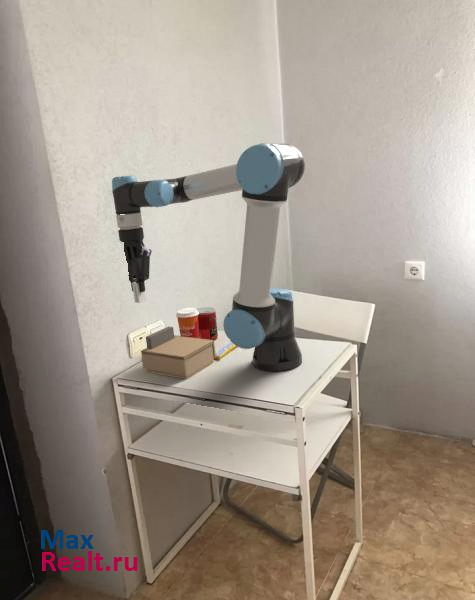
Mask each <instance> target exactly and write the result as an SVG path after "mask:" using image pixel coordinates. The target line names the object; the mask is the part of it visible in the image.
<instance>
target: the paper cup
mask: <svg viewBox="0 0 475 600" xmlns="http://www.w3.org/2000/svg"><path fill="white" fill-rule="evenodd" d="M197 309H198V308H196V307H186V308H181V309H179V310H177V311H176V313H175V316H176V318H177V323H178V329H179V336H184V337H192V338H199V327H198V314H199V312H198V311H197Z"/></svg>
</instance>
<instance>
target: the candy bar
mask: <svg viewBox="0 0 475 600" xmlns="http://www.w3.org/2000/svg"><path fill="white" fill-rule="evenodd" d="M237 348H239V347H238V346H236V345H234V344H233V343H232V342H229V343H228V344H227V345H225V346H223V347H222V348H221V349H219V350H218V351H217V352H215V355H216V357H215V358H214V361H220V360H222V359H223V358H225V357H226V356H227V355H228V354H230V353H232V352H233V351H234V350H235V349H237Z"/></svg>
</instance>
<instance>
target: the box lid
mask: <svg viewBox="0 0 475 600" xmlns="http://www.w3.org/2000/svg"><path fill="white" fill-rule="evenodd" d="M145 342H146V343H145V344H146V348H144V349H142V350H141V351H140V353H141V354H140V355H141V361H142V362H141V363H142V368H143V369H145V370H146V369H151V370H156V371H162V372H168V373H174V374H179V375H187V373H186V365H185V359H187V358H189V357H191V356H192V355H194V354H196V353H198V352H200V351H201V350H203V349H205V348H207V347H208V346H210V345H212V347H213V357H214V358H215V357H216V355H215V353H216V346H215V340H208V339H200V338H192V337H184V336H180V335H175V332H174V326H166V327H164V328H163V329H160V330H157V331H155V332H153V333H151V334H149V335H146V336H145Z"/></svg>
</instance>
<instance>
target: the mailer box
mask: <svg viewBox="0 0 475 600" xmlns="http://www.w3.org/2000/svg"><path fill="white" fill-rule="evenodd" d="M213 364H215V360H214V357H213V347H212V345H210V346H208V347H207V348H205V349H203V350H201V351H200V352H198V353H196V354H194V355H192V356H191V357H189V358H187V359H185V365H186V373H187V375H179V374H174V373H168V372H162V371H156V370H151V369H145V370H146V373H151V374H157V375H163V376H169V377H175V378H180V379H185V380H189V379H190V378H191V377H193V376H194V375H197V374H198V373H199V372H201V371H202V370H204V369H206V368H208V367H209V366H211V365H213Z"/></svg>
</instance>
